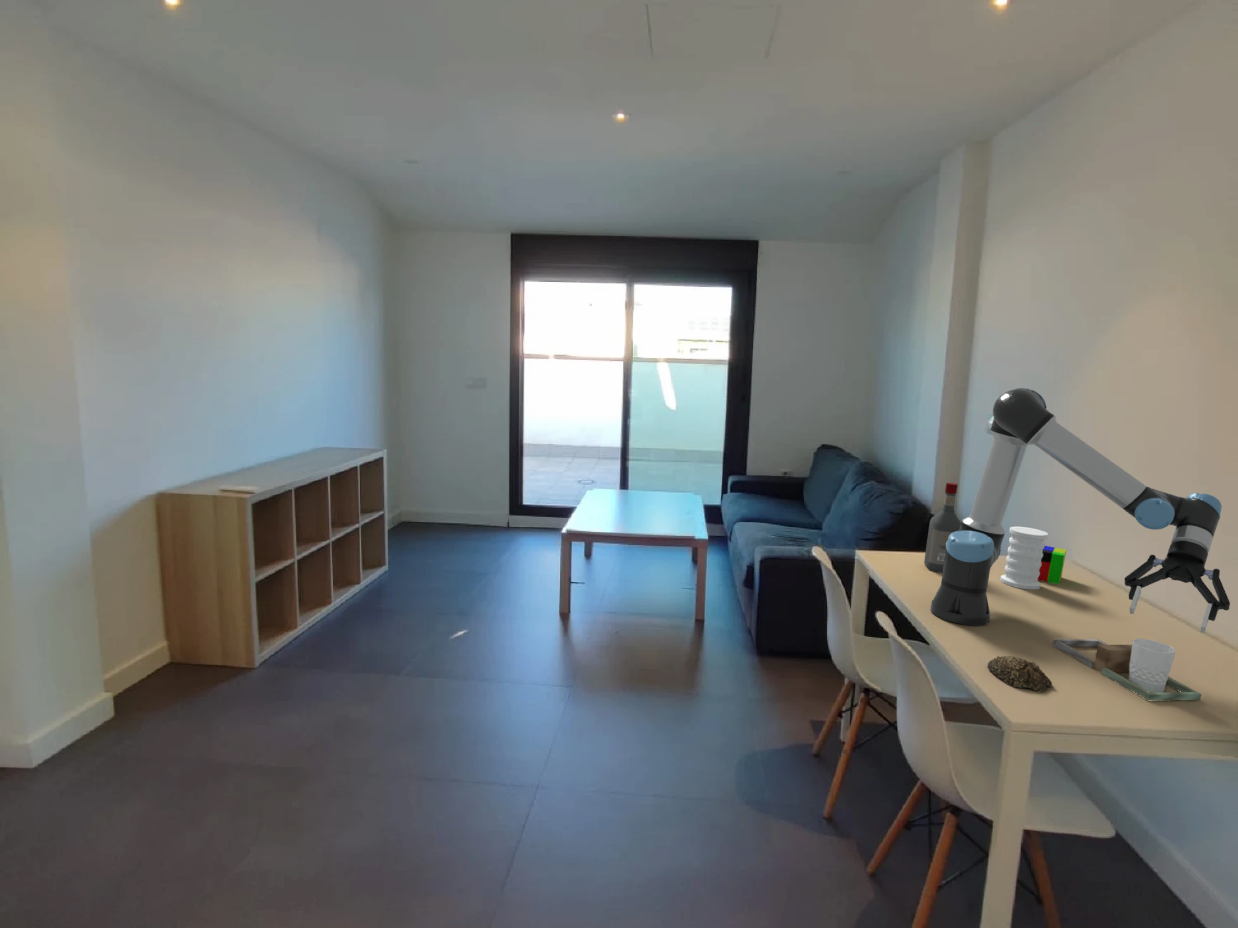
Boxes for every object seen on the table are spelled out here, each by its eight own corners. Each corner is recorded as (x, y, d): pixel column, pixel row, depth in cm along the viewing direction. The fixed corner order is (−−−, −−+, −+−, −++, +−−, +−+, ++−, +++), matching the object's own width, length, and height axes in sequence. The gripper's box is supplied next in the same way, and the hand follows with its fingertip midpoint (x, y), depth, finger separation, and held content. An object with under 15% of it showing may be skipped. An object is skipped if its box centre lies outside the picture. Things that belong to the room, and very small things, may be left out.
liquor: (957, 574, 240) (970, 487, 235) (928, 571, 242) (941, 484, 237) (949, 566, 249) (962, 482, 244) (922, 563, 251) (934, 480, 246)
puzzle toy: (1028, 570, 251) (1032, 543, 249) (1061, 577, 245) (1066, 549, 243) (1024, 577, 243) (1029, 548, 241) (1058, 584, 237) (1063, 555, 235)
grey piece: (1148, 701, 157) (1153, 675, 156) (1052, 644, 185) (1056, 623, 184) (1200, 700, 158) (1205, 675, 157) (1097, 644, 187) (1101, 623, 186)
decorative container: (1048, 589, 231) (1057, 535, 228) (1020, 590, 228) (1029, 536, 225) (1019, 577, 242) (1028, 525, 239) (992, 578, 239) (1000, 526, 236)
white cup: (1166, 698, 159) (1175, 656, 157) (1124, 686, 163) (1132, 645, 161) (1166, 686, 165) (1175, 645, 163) (1125, 675, 169) (1133, 635, 168)
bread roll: (981, 664, 171) (984, 644, 170) (1035, 669, 170) (1038, 650, 169) (1003, 689, 158) (1007, 668, 158) (1062, 695, 157) (1066, 674, 156)
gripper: (1254, 571, 170) (1233, 646, 162) (1128, 544, 187) (1104, 611, 179) (1257, 553, 165) (1236, 630, 157) (1128, 527, 182) (1103, 595, 174)
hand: (1166, 620), depth 168 cm, fingers open, 13 cm apart
